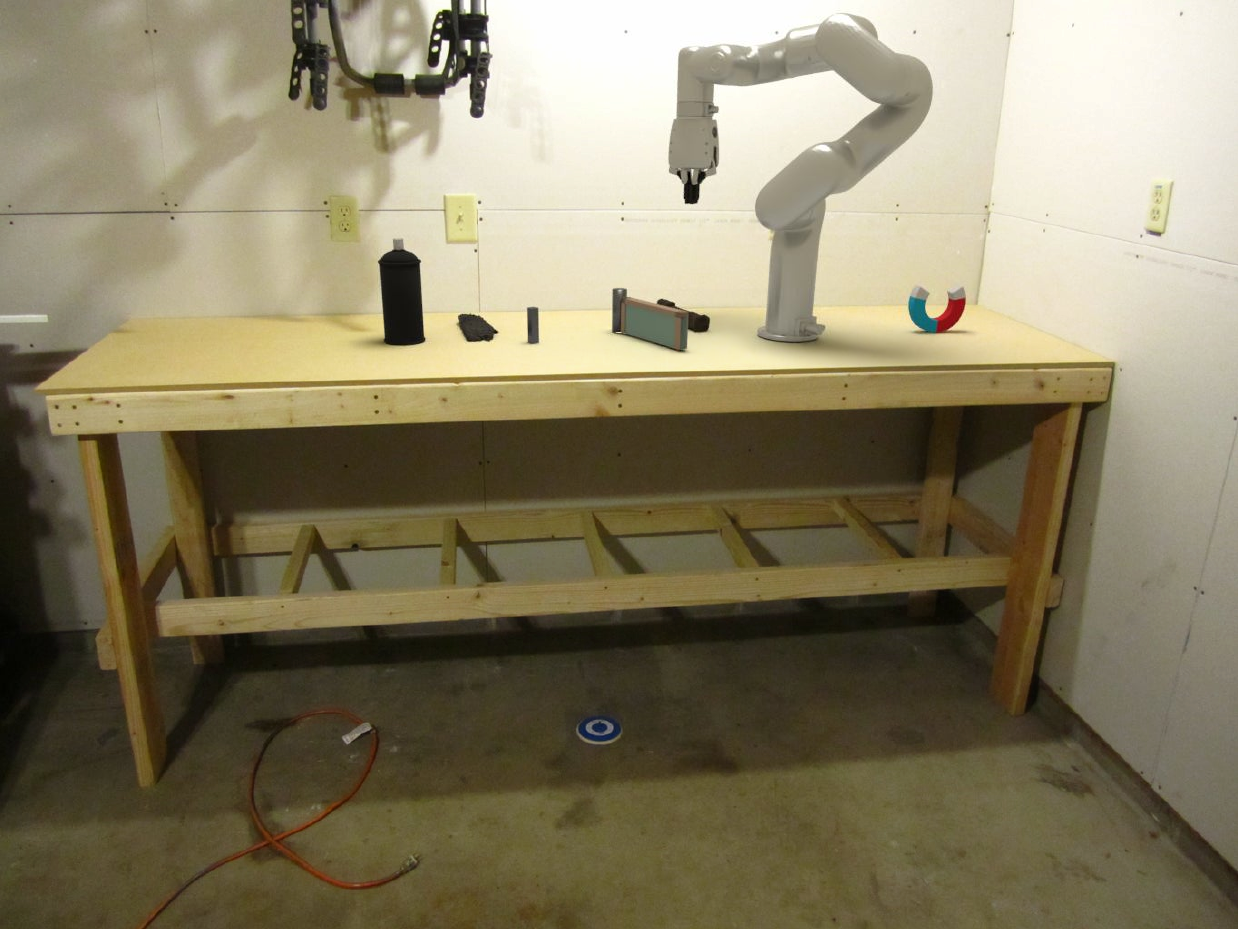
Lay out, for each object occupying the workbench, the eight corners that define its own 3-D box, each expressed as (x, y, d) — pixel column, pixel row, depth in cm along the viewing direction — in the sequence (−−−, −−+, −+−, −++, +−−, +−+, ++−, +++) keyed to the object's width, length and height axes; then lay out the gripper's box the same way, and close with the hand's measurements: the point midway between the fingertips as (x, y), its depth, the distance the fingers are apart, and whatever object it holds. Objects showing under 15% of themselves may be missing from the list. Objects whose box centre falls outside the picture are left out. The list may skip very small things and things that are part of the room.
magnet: (909, 333, 201) (915, 286, 197) (904, 330, 203) (910, 284, 200) (961, 332, 202) (968, 286, 199) (955, 330, 205) (962, 284, 201)
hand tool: (710, 333, 200) (711, 311, 199) (694, 334, 199) (695, 312, 197) (667, 317, 216) (667, 296, 215) (651, 318, 214) (652, 297, 213)
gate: (628, 331, 197) (629, 296, 195) (687, 348, 183) (688, 311, 180) (620, 332, 196) (621, 297, 194) (679, 349, 182) (680, 313, 179)
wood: (504, 343, 189) (504, 328, 188) (467, 344, 187) (467, 329, 186) (489, 321, 209) (489, 307, 208) (456, 322, 207) (455, 308, 206)
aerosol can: (434, 341, 188) (428, 239, 181) (399, 347, 182) (392, 242, 175) (409, 334, 193) (403, 235, 186) (375, 340, 188) (367, 238, 181)
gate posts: (629, 332, 198) (629, 289, 195) (534, 344, 186) (533, 299, 183) (621, 329, 200) (621, 287, 197) (527, 341, 188) (526, 296, 185)
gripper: (735, 112, 194) (730, 204, 200) (671, 111, 201) (668, 200, 207) (719, 112, 188) (715, 206, 194) (654, 111, 195) (652, 202, 201)
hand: (691, 203), depth 201 cm, fingers closed
